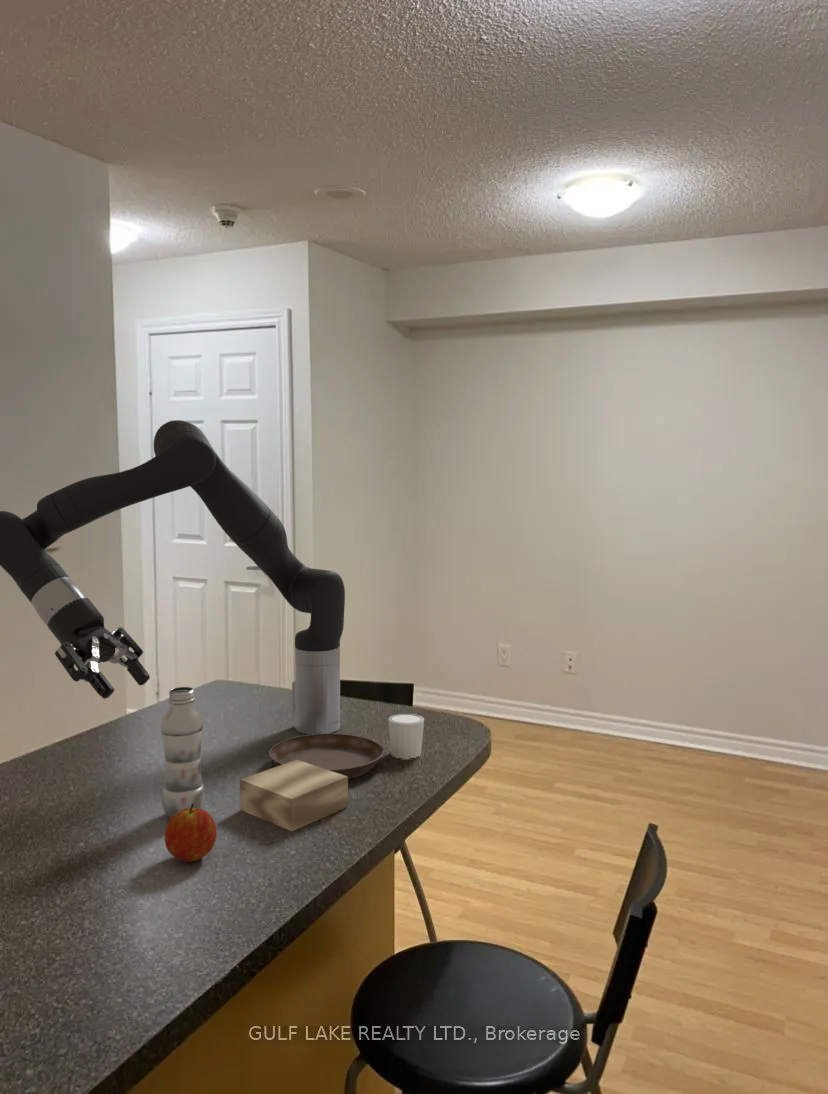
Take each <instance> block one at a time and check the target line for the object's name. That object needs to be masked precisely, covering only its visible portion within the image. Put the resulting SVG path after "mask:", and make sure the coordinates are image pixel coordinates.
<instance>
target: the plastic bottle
mask: <svg viewBox="0 0 828 1094" xmlns="http://www.w3.org/2000/svg"><path fill="white" fill-rule="evenodd" d="M168 694H169V696H168V697H169V698H168V703H169V705H170V707H168V709H167V711H165V713H164V715H163V716H162V718H161V721H160V725H159V726H160V732H161V733H160V734H161V739H162V745H163V751H164V759H165V760H164V764H165V765H164V766H165V771H164V786H163V790H162V800H161V803H162V808H163V809H162V810H163V813H165V815H166V816H167V817H169V819H171V817H172V816H173V815H175V814H176V813H178V812H179V811H181V810H184V809H187V808H191V805H192V803H193V804H194V806H193V808H195V809H202V810H204V808H205V803H206V792H205V791H206V790H205V786H204V783H203V774H202V766H201V764H202V763H201V760H202V759H201V755H202V740H203V732H204V720H203V717H202V715H201V713H200V712H199V710H198V709H197V707H196V706H195V705H194V703H193V702H195V690H194V688H193V687H190V686H180V687H179V686H177V687H174V688H171V689H169V693H168Z"/></svg>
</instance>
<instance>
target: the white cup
mask: <svg viewBox="0 0 828 1094" xmlns="http://www.w3.org/2000/svg"><path fill="white" fill-rule="evenodd" d="M387 719H388V722H387V723H388V731H389V732H388V733H389V744H390V754H391V757H393V758H394V757H396V758H395V759H398V758H402V759H401V760H411V759H410V758H415V759H417V758H416V757H418V756H419V757H421V755H422V747H423V746H422V745H423V735H424V726H425V725H424V724H425V718H424V717H423V716H421V715H419V714H414V713H399V714H394V715H391V716H389V717H387ZM420 754H421V755H420ZM419 757H418V758H419Z"/></svg>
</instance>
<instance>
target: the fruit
mask: <svg viewBox="0 0 828 1094" xmlns="http://www.w3.org/2000/svg"><path fill="white" fill-rule="evenodd" d="M193 806H194V804H193V803H192V805H191V808H187V809H184V810H181V811H179V812H178V813H176V814H175V815H173V816H172V817H171V818H169V820H168V821H167V824H166V826H165V830H164V844H165V848H166V850H167V851H168V853H169V854H170V855H171V856H172V857H174V858H176V859H178V860H180V861H182V862H184V863H189V864H190V863H192V862H196V861H199V860H201V859H203V858H204V857H205V856H207V855H208V854H209V853H210V852H211V851H212V849H213V847H214V846H215V844H216V840H217V832H218V831H217V826H216V823H215V820H214V818H213V817H212V815H211V814H210V813H209V812H208V811H206V810H205V809H195V808H193Z"/></svg>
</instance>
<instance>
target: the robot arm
mask: <svg viewBox="0 0 828 1094" xmlns="http://www.w3.org/2000/svg"><path fill="white" fill-rule="evenodd" d="M154 434H155V435H154V439H153V453H154V455H155V456H154V457H152V458H150V459H148V460H147V461H145V462H144V463H142V464H139V465H137V466H135V467H132V468H130V469H126V470H123V471H118V472H115V473H110V474H104V475H98V476H97V475H96V476H92V477H89V478H88V477H87V478H83V479H81V480H78V481H75V482H74V483H71V484H69V485H67V486H65V487H62V488H60V489H58V490H56V491H54V492H51V493H50V494H47V495H45V496H44V497H42V498H40V499H39V500H38V501H37V503H36V510H35V511H34V512H32V513H30V514H29V515H27V516H26V517H24V518H21V517H20V516H18V515H17V514H15V513H13V512H11V511H8V510H7V511H6V510H0V567H1V568H2V569H3V570H5V572H6V573H7V574H8V575H10V577H11V578H12V579H13V581H14V582H15V583H16V586H17V587H18V588H19V589H20V591H21V592H22V593H23V595H24V596H25V597H26V598H27V600H28V601H29V602H30V603H31V605H32V607H33V608H34V610H35V611H36V613H37V615H38V616H39V618H40V619H41V620H42V622H43V623H44V624H45V626H46V627H47V628H48V629H49V630H50V632H51V633H52V635H53V636H54V637H55V638H56V639H57V641H58V642H59V643H60V646H59V647H57V649H56V650H55V652H54V655H55V657H56V658H57V660H58V661H59V662H60V664H61V665H62V667H63V668H64V669H65V671H66V672H67V673H68V675H69V676H70V678H71V679H72V681H74V682H79V681H81V680H83V681H84V682H86V683H88V684H90V685H91V687H92V688H93V689H94V691H95V692H96V694H98V695H99V696H100V697H101V698H102V699H104V700H106V699H108V698H110V697H111V696H112V694H113V693H114V692H115V688H114V686H113V685H112V684H111V682H109V680H108V679H107V677H106V676H105V675H104V674H103V672H102V671H99V664H101V663H106V662H108V663H111V664H113V665H114V664H118V665H121V666H122V667H124V668H125V669H126V670H127V672H128V673H129V675H131V677H132V678H133V680H135V682H136V683H137V685H139V686H143V685H146V683H147V682H148V681H149V680H150V678H151V676H150V674H149V672H148V670H146V668H145V667H144V666H143V664H142V663H141V662H140V661H139V659H140V657H141V656H142V655H143V653H144V650H143V649H142V648H141V646H139V644H138V643H137V642H136V641H135V640H134V639H133V638H132V637H131V635H130V634H129V633H128V632H127V631H126V630H125V628H123V627H121V626H119V627H118V628H117V629H116V630H115V631H112V632H111V631H109V630H108V629H106V627H105V618H104V616H103V615H102V614H101V612H100V611H99V610H98V609H97V607H96V606H95V605H94V603H93V602H92V600H90V598H88V596H87V595H86V593H85V592H84V591H83V590H82V588H81V587H80V586H78V584H77V583H76V582H75V581H73V580H72V579H71V578H70V576H69V575H68V574H67V573H66V571H65V570H64V569H63V568H62V566H61V565H60V564H59V563H58V561H57V560H56V559H55V558H54V557H52V555H50V554H48V553H47V552H46V549H47V548H48V547H50V546H51V545H53V544H54V543H56V541H58V540H60V538H62V537H63V536H64V535H66V534H68V533H71V532H73V531H75V530H77V529H80V528H82V527H84V526H86V525H88V524H90V523H92V522H94V521H96V520H99V519H100V518H102V517H105V516H107V515H110V514H111V513H114V512H117V511H119V510H121V509H124V508H127V507H130V506H133V505H136V504H138V503H143V502H144V501H147V500H150V499H153V498H156V497H160V496H162V495H166V494H169V493H172V492H175V491H179V490H182V489H185V488H191V489H192V491H193V490H194V492H195V493H196V494H197V495H198V496H199V498H200V499H201V501H202V502H203V504H204V505H205V507H206V508H207V509H208V511H209V512H210V514H211V515H212V517H213V519H214V520H215V521H216V523H217V524H218V526H219V527H220V528H221V529H222V531H223V532H224V533H225V534H226V535H227V536H228V537H229V539H230V540H231V541H232V542H233V543H234V544H235V545H236V546H237V547H238V548H239V549H240V550H241V551H242V552H243V553H244V554H245V555H246V556H247V557H248V558H249V559H251V561H252V562H253V563H254V564H255V565H256V566H257V567H258V568H259V569H260V570H261V571H262V572H264V573H263V574H265V575H266V576H267V577H268V578H269V579H270V581H271V582H272V583H273V585H275V588H276V589H277V590H278V591H279V592H280V593H281V596H283V598H284V599H285V601H287V603H288V604H289V605H290V606H291V607H292V608H293V609H294V610H297V611H298V612H301V613H305V614H310V622H309V626H308V628H306V629H303V630H302V629H301V630H299V631H298V632H296V634H295V636H294V667H295V668H294V674H295V675H294V677H295V679H294V681H292V683H291V709H292V710H291V711H292V712H291V717H292V718H291V720H292V721H291V722H292V723H291V726H292V728H295V730H296V731H297V732H299V733H302V734H305V735H311V734H333V733H335V732H337V731H339V729H340V727H341V637H342V635H343V632H344V627H345V626H344V625H345V606H346V590H345V585H344V584H345V583H344V581H343V579H342V577H341V575H340V574H339V573H337V572H335V571H334V570H327V569H319V568H312V567H310V566H309V567H308V566H307V565H305V564H304V563H302V561H301V560H299V559H298V557H296V556H295V555H294V553H293V552H292V551H291V549H290V548H289V545H288V544H289V543H288V538H287V532H286V529H285V527H284V524H283V522H282V521H281V519H279V517H278V516H277V515H276V513H274V511H273V510H272V509H271V508H270V507H269V505H268V504H267V503H265V501H263V500H262V499H261V498H260V497H259V496H258V495H257V494H256V493H255V492H254V491H253V490H252V489H251V488H250V487H249V486H248V485H247V484H246V483H245V482H244V481H243V480H242V479H240V478H239V477H238V476H237V475H236V474H235V473H234V472H233V471H231V469H230V468H229V467H228V466H227V465H226V464H225V463H224V461H223V460H222V459H221V458H220V456H219V454H217V452H216V451H215V449H214V448H213V447H212V444H211V442H210V441H209V440H208V438H207V436H206V435H205V433H204V432H203V431H202V430H201V429H200V428H199V427H197V426H196V425H195V424H193V423H191V422H188V421H184V420H178V419H177V420H171V421H168V422H165V423H164V424H162V425H160V426H159V428H158V429H157V431H156V433H154ZM130 648H131V649H132V651H131V650H130ZM116 650H118V651H117V652H116ZM123 656H124V657H125V658H126V659H125V658H124V657H123ZM75 667H76V668H77V670H76V668H75Z"/></svg>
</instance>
